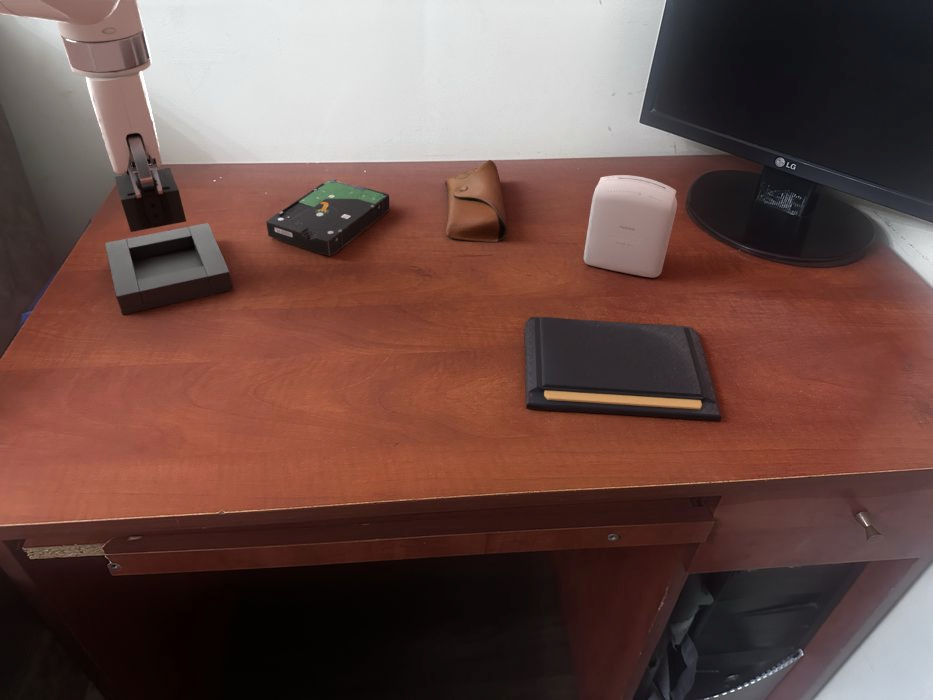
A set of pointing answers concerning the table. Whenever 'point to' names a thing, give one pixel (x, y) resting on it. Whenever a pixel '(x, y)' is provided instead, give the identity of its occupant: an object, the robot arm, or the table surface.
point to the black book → (618, 369)
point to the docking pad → (167, 268)
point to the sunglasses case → (476, 205)
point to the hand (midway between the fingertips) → (153, 210)
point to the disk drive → (328, 216)
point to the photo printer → (630, 225)
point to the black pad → (129, 202)
